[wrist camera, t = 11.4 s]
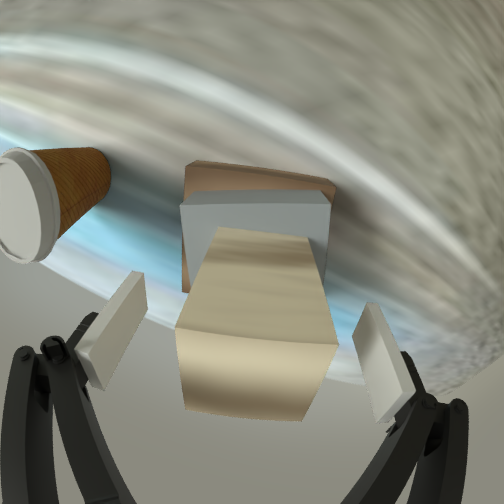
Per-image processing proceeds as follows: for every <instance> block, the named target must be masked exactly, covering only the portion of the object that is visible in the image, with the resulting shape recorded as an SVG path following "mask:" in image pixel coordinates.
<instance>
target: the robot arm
mask: <svg viewBox="0 0 504 504" xmlns="http://www.w3.org/2000/svg"><path fill="white" fill-rule="evenodd" d="M147 310H148V307H147V299H146V290H145V281H144V273H142V272H136V271H132V272H131V273H130V274H129V275H128V277H127V278H126V279H125V280H124V282H123V283H122V284H121V286H120V287H119V288H118V289H117V291H116V292H115V293H114V295H113V296H112V297H111V298H110V300H109V301H108V303H107V304H106V305H105V307H104V308H103V309H102V310H101V312H100V313H95V312H92V313H90V314H89V315H87V316H86V317H85V318H84V319H83V320H82V322H81V323H80V325H79V326H78V327H77V328H76V330H75V331H74V332H73V334H72V335H71V337H70V338H69V339H68V341H67V342H66V343H65V342H64V340H63V339H62V338H61V337H59V336H50V337H47V338H46V339H45V340H44V341H43V342H42V343H41V346H40V350H41V352H42V354H36V353H35V352H34V350H33V348H32V347H30V346H22V347H20V348H18V349H17V350H16V352H15V354H14V357H13V361H12V365H11V370H10V375H9V379H8V384H7V390H6V396H5V403H4V410H3V419H2V431H1V450H0V453H1V454H0V465H1V466H0V467H1V486H2V487H1V488H2V499H3V502H2V504H59V500H58V494H57V487H56V479H55V470H54V457H53V435H52V416H53V405H54V409H55V414H56V418H57V422H58V426H59V430H60V434H61V437H62V441H63V444H64V447H65V451H66V454H67V457H68V460H69V463H70V465H71V468H72V471H73V474H74V476H75V479H76V481H77V484H78V486H79V489H80V491H81V493H82V496H83V498H84V501H85V504H136V502H135V500H134V499H133V497H132V495H131V493H130V492H129V490H128V488H127V486H126V484H125V482H124V480H123V478H122V476H121V475H120V472H119V470H118V468H117V466H116V464H115V462H114V460H113V458H112V456H111V453H110V451H109V449H108V446H107V444H106V441H105V439H104V436H103V434H102V432H101V429H100V426H99V424H98V421H97V418H96V415H95V412H94V409H93V406H92V403H91V400H90V397H89V394H88V390H87V388H86V386H85V385H86V383H87V381H88V380H89V382H90V383H91V385H92V387H95V388H98V389H101V390H103V391H105V389H106V387H107V385H108V383H109V381H110V379H111V377H112V375H113V373H114V371H115V369H116V367H117V365H118V363H119V362H120V360H121V358H122V356H123V354H124V352H125V350H126V348H127V346H128V345H129V343H130V341H131V339H132V337H133V335H134V333H135V332H136V330H137V328H138V326H139V324H140V323H141V321H142V319H143V317H144V316H145V314H146V312H147ZM352 338H353V341H354V345H355V348H356V351H357V355H358V358H359V362H360V365H361V369H362V372H363V376H364V379H365V383H366V387H367V391H368V394H369V398H370V402H371V406H372V410H373V414H374V419H375V423H376V424H377V423H386V422H389V421H390V420H391V419H392V418H393V417H395V421H396V422H395V423H394V424H393V425H392V426H391V427H390V428H389V429H388V430H387V431H386V432H387V433H388V432H389V433H388V434H387V436H386V438H385V440H384V442H383V443H382V445H381V446H380V448H379V450H378V452H377V453H376V455H375V456H374V458H373V459H372V461H371V462H370V464H369V465H368V467H367V468H366V470H365V471H364V473H363V474H362V476H361V477H360V479H359V480H358V481H357V483H356V484H355V485H354V487H353V488H352V490H351V491H350V492H349V493H348V495H347V496H346V497H345V499H344V500H343V501H342V502H341V504H395V502H396V501H397V499H398V497H399V496H400V494H401V492H402V490H403V489H404V487H405V485H406V483H407V481H408V479H409V477H410V475H411V473H412V471H413V469H414V467H415V465H416V463H417V467H416V472H415V476H414V480H413V484H412V487H411V491H410V495H409V498H408V501H407V504H461V500H462V495H463V489H464V482H465V475H466V465H467V454H468V430H469V425H468V424H469V421H468V420H469V418H468V417H469V415H468V407H467V405H466V403H465V402H464V401H463V400H461V399H457V398H456V399H453V400H452V401H451V402H450V403H449V404H445V403H439V402H438V401H437V399H436V398H435V397H434V396H433V395H432V394H429V393H426V391H425V388H424V386H423V383H422V381H421V379H420V376H419V374H418V372H417V369H416V367H415V365H414V362H413V360H412V358H411V357H410V356H409V355H408V353H407V352H406V351H400V350H399V348H398V346H397V343H396V341H395V339H394V337H393V335H392V332H391V330H390V328H389V326H388V324H387V322H386V320H385V317H384V315H383V313H382V311H381V309H380V307H379V305H378V303H368V302H367V303H366V305H365V308H364V310H363V312H362V315H361V317H360V319H359V322H358V324H357V326H356V328H355V331H354V333H353V335H352ZM417 461H418V462H417Z"/></svg>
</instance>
